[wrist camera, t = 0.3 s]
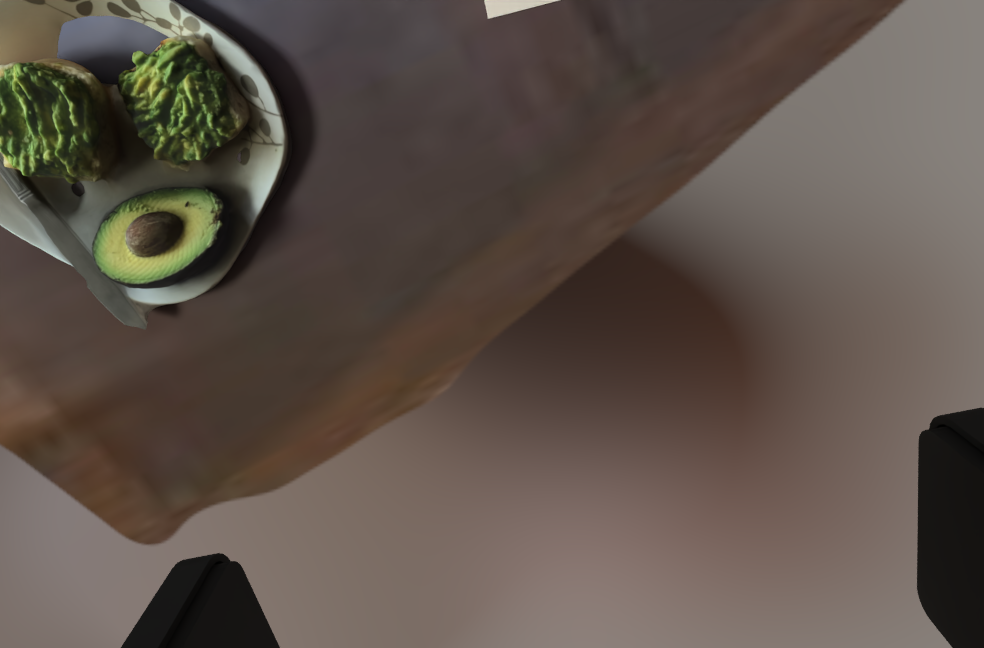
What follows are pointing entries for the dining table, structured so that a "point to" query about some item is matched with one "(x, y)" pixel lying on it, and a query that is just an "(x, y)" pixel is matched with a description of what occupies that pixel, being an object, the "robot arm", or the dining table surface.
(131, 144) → the salad plate
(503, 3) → the label card
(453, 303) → the dining table surface
